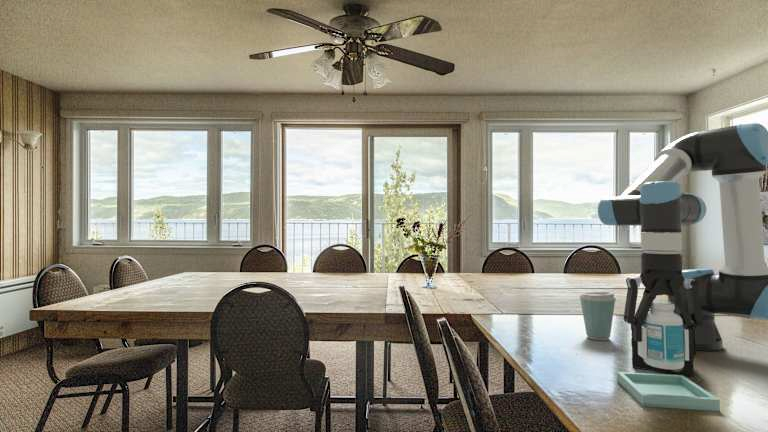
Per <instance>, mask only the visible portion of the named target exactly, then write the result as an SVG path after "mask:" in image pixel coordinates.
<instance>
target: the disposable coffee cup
mask: <svg viewBox="0 0 768 432" xmlns="http://www.w3.org/2000/svg"><path fill="white" fill-rule="evenodd" d="M579 299H580V305H581V309H582V316H583V322H584V328H585V334H586V336H587V338H588V339H589V340H594V341H609V340H610V337H611V332H612V325H613V319H614V313H615V312H614V311H615V305H616V304H615V303H616V301H617V300H616V299H617V298H616V296H615V294H614V292H611V291H590V292H583V293H581V294H580V296H579Z"/></svg>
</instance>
